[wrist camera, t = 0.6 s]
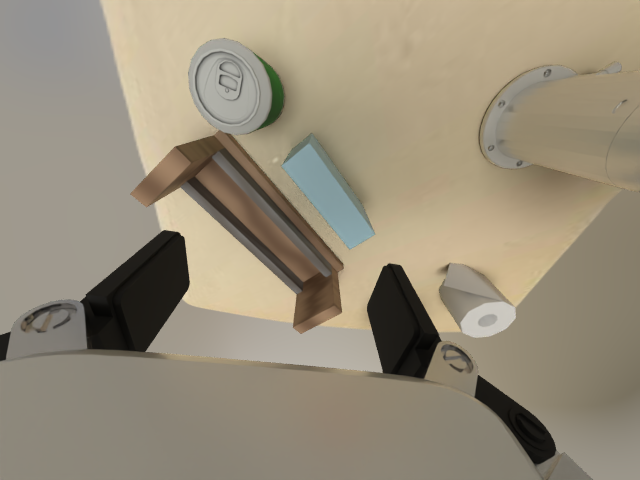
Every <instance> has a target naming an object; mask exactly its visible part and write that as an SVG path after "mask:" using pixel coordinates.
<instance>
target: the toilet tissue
mask: <svg viewBox="0 0 640 480" xmlns="http://www.w3.org/2000/svg"><path fill="white" fill-rule="evenodd" d="M439 293H440V297H441V299H442V301H443V303H444V304H445V306H446V307H447V309H448V311H449V312H450V314H451V315H452V317H453V318H454V320H455V322H456V323H457V325H458V326H459V328H460V329H461V331H462V333H464V334H467V335H469V336H471V337H474V338H475V337H487V336H492V335H494V334H496V333H498V332H500V331H502V330H505V329H506V328H507V327H508V326H509V325H510V324H511V323H512V322H513V321H514V319H515V318H516V317H515V316H516V314H515V307H514V306H513V305H512V304H511V303H510V302H509V301H508V300H507V299H506V298H505V296H504V295H503V294H502V293H501V292H500V291H499V290H498V289H497V288H496V287H495V286H494V285H493V284H492V283H491V282H490V281H489V280H488V279H487V278H486V277H485V276H484V275H483V274H481V273H479V272H477V271H475V270H473V269H471V268H469V267H468V266H466V265H464V264H455V263H450V265H449V268H448V272H447V276H446V279H445V280H444V281H443V283H442V285H441V286H440V288H439Z"/></svg>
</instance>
